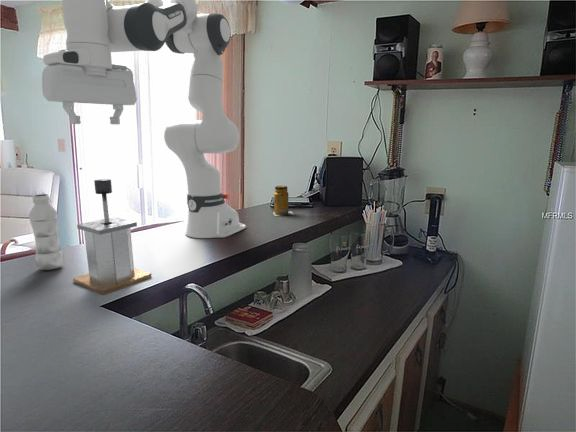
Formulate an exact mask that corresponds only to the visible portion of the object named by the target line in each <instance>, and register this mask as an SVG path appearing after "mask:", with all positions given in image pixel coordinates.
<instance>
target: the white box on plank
mask: <svg viewBox="0 0 576 432" xmlns="http://www.w3.org/2000/svg"><path fill="white" fill-rule="evenodd" d="M137 224H138V223H137V222H136V221H133V220H129V219H124V218H119V217H115V216H114V217H109V224H108V225H105V220H104V218H103V219H98V220H93V221H88V222H84V223H79V224H76V227H77V230H81V231H83V233H84V234H83V235H84V241H85V242H84V243H85V251H86V259H87V268H88V269H87V270H88V273H87V274H83V275H80V276H77V277H73V278H72V280H73V281H72V282H73V283H74V284H77V285H79V286H81V287H83V288H87V289H89V290H91V291H93V292H95V293H98V294H100V295H102V296H103V295H106V294H110V293H112V292H115V291H117V290H120V289H123V288H127V287H129V286H131V285H134V284H137V283H139V282H142V281H145V279H146V280H148V279H151V278H152V273H150V272H147V271H144V270H141V269H138V268H135V264H134V254H133V243H132V242H133V241H132V232H131V231H132V230H131V228H135V227H138V225H137ZM147 278H148V279H147Z"/></svg>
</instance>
